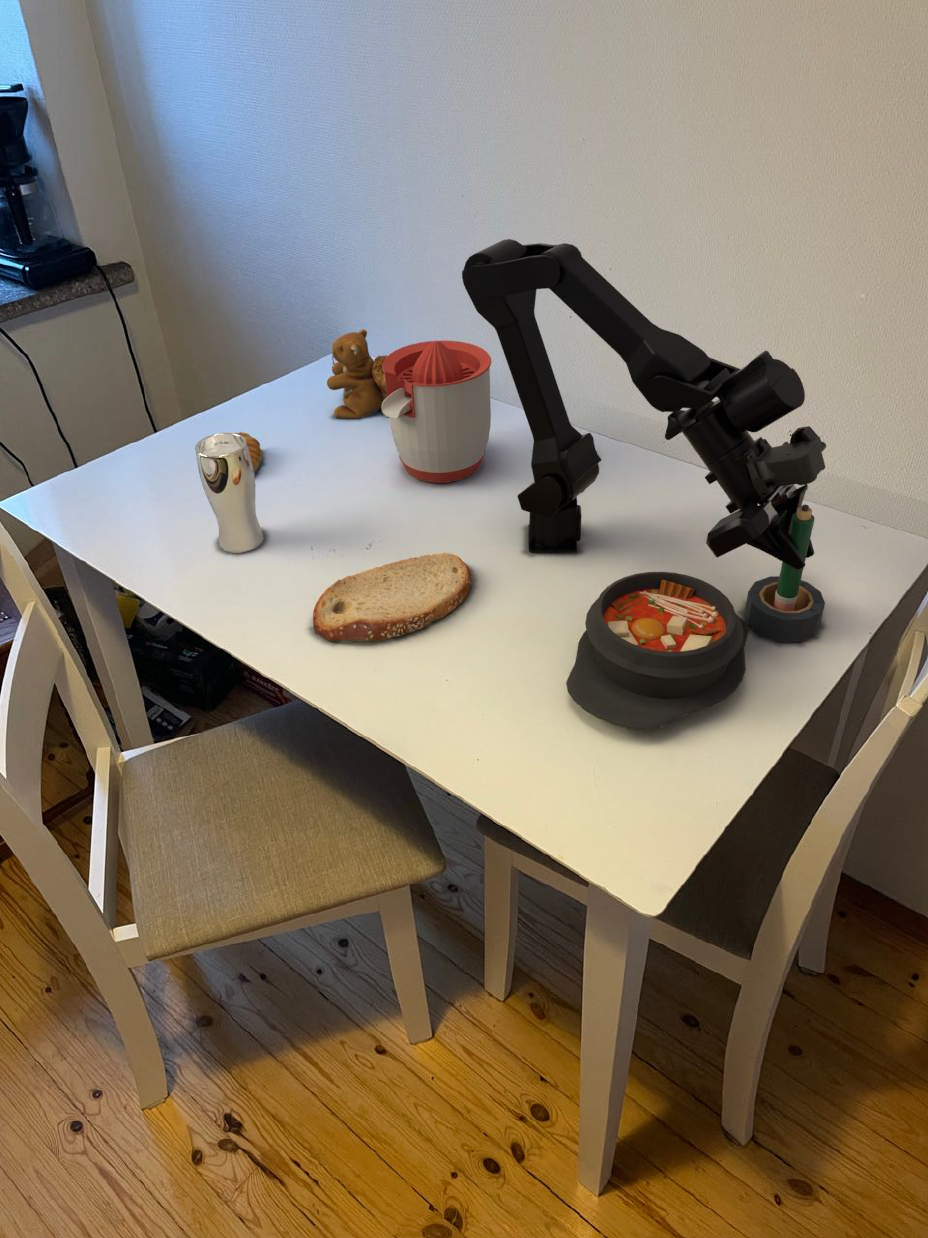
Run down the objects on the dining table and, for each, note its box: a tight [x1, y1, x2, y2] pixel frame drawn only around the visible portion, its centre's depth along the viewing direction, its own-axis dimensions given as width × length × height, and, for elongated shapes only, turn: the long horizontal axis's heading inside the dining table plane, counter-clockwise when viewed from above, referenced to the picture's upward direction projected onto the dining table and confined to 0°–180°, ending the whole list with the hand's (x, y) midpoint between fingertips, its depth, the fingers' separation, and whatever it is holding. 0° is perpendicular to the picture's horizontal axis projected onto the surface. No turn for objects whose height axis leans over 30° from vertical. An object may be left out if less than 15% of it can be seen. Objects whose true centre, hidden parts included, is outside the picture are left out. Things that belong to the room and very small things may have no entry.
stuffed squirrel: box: [326, 328, 388, 419], centre depth 160 cm, size 10×14×13 cm
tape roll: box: [744, 575, 826, 644], centre depth 113 cm, size 8×8×4 cm
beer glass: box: [194, 432, 265, 554], centre depth 128 cm, size 7×7×15 cm
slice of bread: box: [312, 552, 473, 643], centre depth 119 cm, size 18×18×4 cm
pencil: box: [773, 504, 816, 611], centre depth 109 cm, size 2×2×14 cm
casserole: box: [565, 571, 750, 731], centre depth 106 cm, size 25×19×8 cm
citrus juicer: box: [381, 340, 492, 485], centre depth 140 cm, size 16×17×20 cm
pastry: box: [235, 431, 263, 474], centre depth 148 cm, size 9×7×4 cm
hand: (806, 561), depth 108 cm, fingers closed on pencil, 2 cm apart
